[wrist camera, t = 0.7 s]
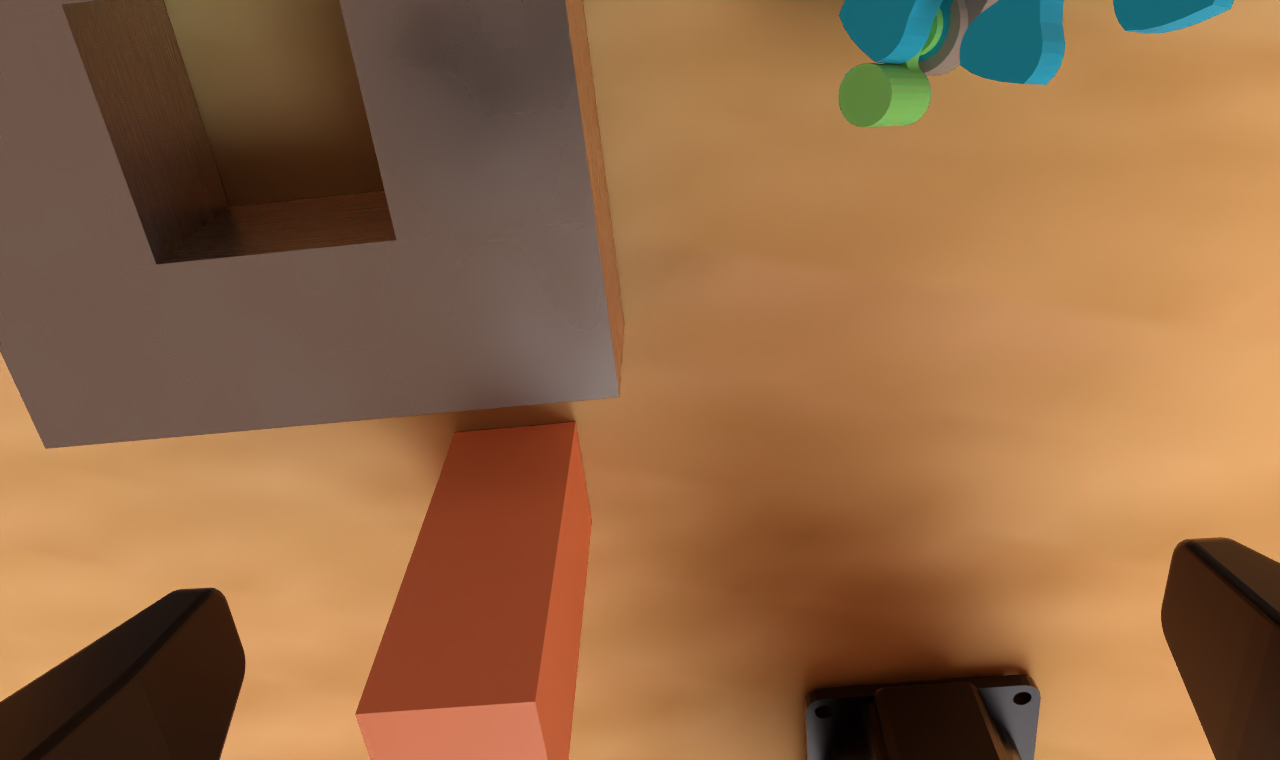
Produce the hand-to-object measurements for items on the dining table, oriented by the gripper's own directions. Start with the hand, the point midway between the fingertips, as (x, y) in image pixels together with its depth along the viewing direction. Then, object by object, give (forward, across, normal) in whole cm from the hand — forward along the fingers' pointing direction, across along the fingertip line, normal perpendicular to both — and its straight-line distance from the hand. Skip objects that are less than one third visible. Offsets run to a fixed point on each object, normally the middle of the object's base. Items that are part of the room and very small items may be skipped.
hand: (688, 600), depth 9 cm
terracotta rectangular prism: (+13, +4, +7) cm, 16 cm away
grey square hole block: (+13, +8, -3) cm, 15 cm away
